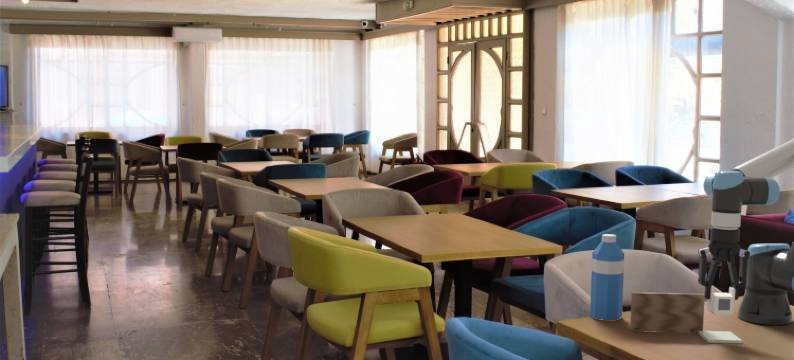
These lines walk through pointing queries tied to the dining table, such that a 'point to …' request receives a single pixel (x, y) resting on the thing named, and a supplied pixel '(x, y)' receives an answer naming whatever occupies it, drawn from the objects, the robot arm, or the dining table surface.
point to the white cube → (723, 304)
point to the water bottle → (607, 279)
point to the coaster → (719, 337)
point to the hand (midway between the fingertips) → (720, 310)
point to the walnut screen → (667, 312)
